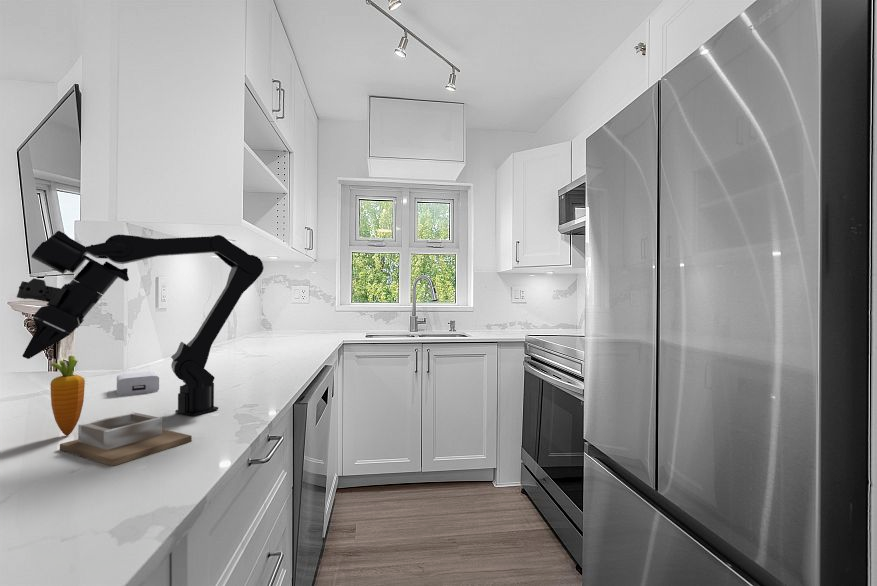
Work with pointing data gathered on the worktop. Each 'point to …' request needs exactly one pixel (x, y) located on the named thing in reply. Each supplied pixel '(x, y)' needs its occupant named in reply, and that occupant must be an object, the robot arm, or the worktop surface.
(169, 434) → the holder
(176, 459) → the worktop surface
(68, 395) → the carrot
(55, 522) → the worktop surface
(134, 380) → the charger
